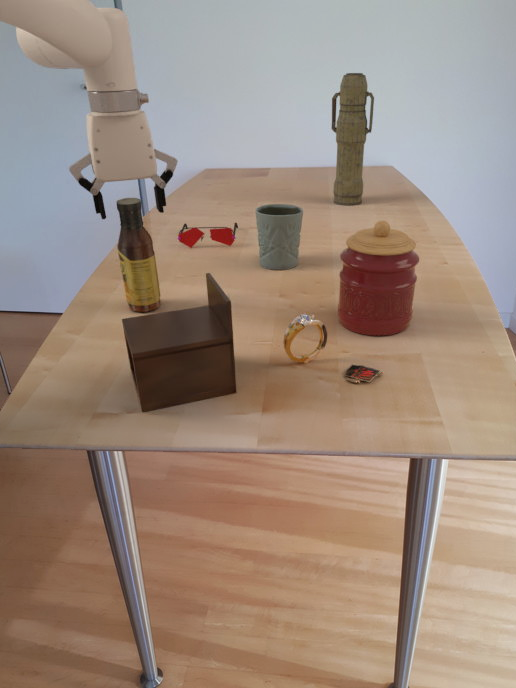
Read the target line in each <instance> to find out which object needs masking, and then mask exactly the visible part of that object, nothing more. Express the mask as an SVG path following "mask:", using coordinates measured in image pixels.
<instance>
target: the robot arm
mask: <svg viewBox="0 0 516 688" xmlns="http://www.w3.org/2000/svg"><path fill="white" fill-rule="evenodd" d="M0 22H1V23H2V22H3V23H4V24H8V25H11V26H13V27H15V36H16V40H17V43H18V46H19V47H20V49H21V51H22V52H23V54H24V55H25V56H26V57H27V58H28V59H29V60H30V61H31V62H33V63H34V64H36V65H38V66H41V67H42V68H43V67H44V68H47V69H55V70H68V69H71V70H73V69H75V70H76V69H77V70H83V76H84V80H85V81H84V82H85V86H86V91H87V97H88V103H89V109H90V113H86V118H85V119H86V120H85V121H86V135H87V136H86V137H87V144H88V153H87V154H86V155H84V156H83V157H81V158H80V159H79V160H77V161H76V162H73V164H71V165H70V166H68V171H69V173H70V174H71V175H72V176H73V178H75V180H76V182H77V183H78V184H79V186H81V187H82V188H83V189H84V190H86V191H87V192H89V193H90V194H91V195H92V200H93V204H94V210H95V213H96V215H97V214H100V217H101V220H106V219H107V214H106V208H105V203H104V197H103V194H102V191H101V189H102V187H103V186H104V184H105V183H113V182H123V181H134V180H135V181H136V180H145V179H150V180H151V181H152V182H153V183H154V186H153V191H154V199H155V207H156V209H157V211H158V212H159V213H161V214H163V213H164V212H165V211H164V207H167V200H166V192H165V189H166V187H167V184H168V183H169V182H170V181H171V179H172V177H173V176H174V172H175V170H176V168H177V165H178V159H177V158H176V157H175V156H172V155H170V154H167V153H166V152H163V151H161V150H159V149H157V148H155V147H154V141H153V136H152V132H151V128H150V124H149V120H148V118H147V114H146V111H145V110H141V109H142V106H143V105H144V104H149V103H150V101H149V95H148V93H143V92H140V90H139V89H138V83H137V75H136V66H135V60H134V59H135V58H134V54H133V53H134V52H133V45H132V39H131V38H132V37H131V31H130V25H129V20H128V17H127V15H126V13H125V12H124V11H123V10H122V9H121V8H116V7H96V5H95V4H93V3H92V2H91V1H90V0H0ZM157 160H159V161H161V162H163V163H166V166H165V169H164V171H163V172H162V173H161V175H160V176H159V175H158V174H157V173H158V164H157ZM90 165H91V169H92V173H93V174H94V178H93V180H92V181H90V180H88V179H87V178H86V177H85V176H84V175H83V173H82V171H83V170H84V169H86V168H87V167H88V166H90Z"/></svg>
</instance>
